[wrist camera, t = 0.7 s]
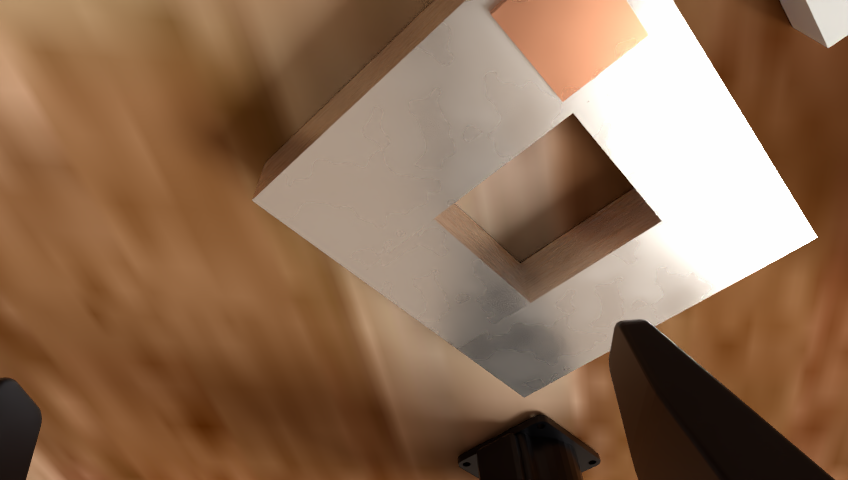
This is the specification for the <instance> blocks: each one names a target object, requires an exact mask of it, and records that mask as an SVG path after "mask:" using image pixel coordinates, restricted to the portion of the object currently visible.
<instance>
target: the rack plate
mask: <svg viewBox="0 0 848 480" xmlns="http://www.w3.org/2000/svg"><path fill="white" fill-rule="evenodd" d="M572 113H573V114H574V115H575V116H576V117H577V118H578V120H579V121H580V122H581V123H582V125H583V126H584V127H585V128H586V129H587V131H588V132H589V133H590V134H591V136H592V137H593V138H594V139H595V140H596V142H597V143H598V144H599V145H600V146H601V148H602V149H603V150H604V151H605V153H606V154H607V155H608V156H609V157H610V159H611V160H612V161H613V162H614V163H615V165H616V166H617V167H618V168H619V170H620V171H621V172H622V173H623V174H624V176H625V177H626V178H627V179H628V180H629V182H630V183H631V184H632V185H633V187H634V188H633V189H632V190H630V191H629V192H627V193H626V194H624V195H623V196H621V197H620V198H618V199H616V200H615V201H613V202H612V203H610V204H609V205H607V206H606V207H604V208H603V209H601V210H600V211H598V212H597V213H595V214H594V215H592V216H591V217H589V218H588V219H586V220H585V221H583V222H582V223H580V224H579V225H577V226H576V227H574V228H573V229H571V230H570V231H568V232H567V233H565V234H564V235H562V236H561V237H559V238H558V239H556V240H555V241H553V242H552V243H550V244H549V245H547V246H546V247H544V248H543V249H541V250H540V251H538V252H537V253H535V254H534V255H532V256H531V257H529V258H528V259H526V260H525V261H523V262H522V263H519V262H518V261H517V260H516V259H515V258H514V257H513V256H511V255H510V254H509V253H508V252H507V251H506V250H505V249H504V248H503V247H502V246H500V245H499V244H498V243H497V242H496V241H495V240H494V239H493V238H492V237H491V236H489V235H488V234H487V233H486V232H485V231H484V230H483V229H482V228H481V227H480V226H478V225H477V224H476V223H475V222H474V221H473V220H472V219H471V218H470V217H469V216H467V215H466V214H465V213H464V212H463V211H462V210H461V209H460V208H459V207H458V206H456V205H455V204H454V203H455V202H456V201H458V200H459V199H460V198H462V197H463V196H464V195H465V194H467V193H468V192H469V191H471V190H472V189H473V188H475V187H476V186H477V185H479V184H480V183H481V182H483V181H484V180H485V179H487V178H488V177H489V176H491V175H492V174H493V173H494V172H496V171H497V170H498V169H500V168H501V167H502V166H504V165H505V164H506V163H508V162H509V161H510V160H512V159H513V158H514V157H516V156H517V155H518V154H519V153H521V152H522V151H523V150H525V149H526V148H527V147H529V146H530V145H531V144H533V143H534V142H535V141H537V140H538V139H539V138H541V137H542V136H543V135H545V134H546V133H547V132H548V131H550V130H551V129H552V128H554V127H555V126H556V125H558V124H559V123H560V122H562V121H563V120H564V119H566V118H567V117H568V116H570V115H571V114H572ZM252 201H253V202H255V203H256V204H258V205H259V206H260V207H262V208H263V209H264V210H266V211H267V212H269V213H270V214H271V215H273V216H274V217H276V218H277V219H278V220H280V221H281V222H282V223H284V224H285V225H287V226H288V227H289V228H291V229H292V230H293V231H295V232H296V233H298V234H299V235H300V236H302V237H303V238H305V239H306V240H307V241H309V242H310V243H311V244H313V245H314V246H316V247H317V248H318V249H320V250H321V251H322V252H324V253H325V254H327V255H328V256H329V257H331V258H332V259H334V260H335V261H336V262H338V263H339V264H340V265H342V266H343V267H345V268H346V269H347V270H349V271H350V272H351V273H353V274H354V275H356V276H357V277H358V278H360V279H361V280H363V281H364V282H365V283H367V284H368V285H369V286H371V287H372V288H374V289H375V290H376V291H378V292H379V293H380V294H382V295H383V296H385V297H386V298H387V299H389V300H390V301H392V302H393V303H394V304H396V305H397V306H398V307H400V308H401V309H403V310H404V311H405V312H407V313H408V314H410V315H411V316H412V317H414V318H415V319H416V320H418V321H419V322H421V323H422V324H423V325H425V326H426V327H427V328H429V329H430V330H432V331H433V332H434V333H436V334H437V335H439V336H440V337H441V338H443V339H444V340H445V341H447V342H448V343H450V344H451V345H452V346H454V347H455V348H456V349H458V350H459V351H461V352H462V353H463V354H465V355H466V356H468V357H469V358H470V359H472V360H473V361H474V362H476V363H477V364H479V365H480V366H481V367H483V368H484V369H485V370H487V371H488V372H490V373H491V374H492V375H494V376H495V377H497V378H498V379H499V380H501V381H502V382H503V383H505V384H506V385H508V386H509V387H510V388H512V389H513V390H514V391H516V392H517V393H519V394H520V395H521V396H523V397H526V396H528V395H530V394H531V393H533V392H535V391H537V390H539V389H541V388H542V387H544V386H546V385H548V384H550V383H552V382H553V381H555V380H557V379H559V378H561V377H563V376H564V375H566V374H568V373H570V372H572V371H574V370H576V369H577V368H579V367H581V366H583V365H585V364H587V363H588V362H590V361H592V360H594V359H596V358H598V357H599V356H601V355H603V354H605V353H607V352H609V351H610V349H611V343H612V337H613V332H614V327H615V325H616V323H617V322H619V321H623V320H634V319H644V320H646V321H648V322H650V323H651V324H652V325H653V326H656V325H658V324H660V323H662V322H664V321H665V320H667V319H669V318H671V317H673V316H675V315H676V314H678V313H680V312H682V311H684V310H686V309H687V308H689V307H691V306H693V305H695V304H697V303H698V302H700V301H702V300H704V299H706V298H708V297H709V296H711V295H713V294H715V293H717V292H719V291H720V290H722V289H724V288H726V287H728V286H730V285H731V284H733V283H735V282H737V281H739V280H741V279H742V278H744V277H746V276H748V275H750V274H752V273H753V272H755V271H757V270H759V269H761V268H763V267H764V266H766V265H768V264H770V263H772V262H774V261H775V260H777V259H779V258H781V257H783V256H785V255H786V254H788V253H790V252H792V251H794V250H796V249H797V248H799V247H801V246H803V245H805V244H807V243H808V242H810V241H812V240H814V239H816V238H817V236H816V234H815V233H814V231H813V229H812V228H811V226H810V225H809V223H808V221H807V220H806V218H805V216H804V215H803V213H802V211H801V210H800V208H799V207H798V205H797V203H796V202H795V200H794V198H793V197H792V195H791V193H790V192H789V190H788V189H787V187H786V185H785V184H784V182H783V180H782V179H781V177H780V175H779V174H778V172H777V170H776V169H775V167H774V166H773V164H772V162H771V161H770V159H769V157H768V156H767V154H766V152H765V151H764V149H763V148H762V146H761V144H760V143H759V141H758V139H757V138H756V136H755V134H754V133H753V131H752V130H751V128H750V126H749V125H748V123H747V121H746V120H745V118H744V116H743V115H742V113H741V112H740V110H739V108H738V107H737V105H736V103H735V102H734V100H733V98H732V97H731V95H730V93H729V92H728V90H727V89H726V87H725V85H724V84H723V82H722V80H721V79H720V77H719V75H718V74H717V72H716V71H715V69H714V67H713V66H712V64H711V62H710V61H709V59H708V57H707V56H706V54H705V53H704V51H703V49H702V48H701V46H700V44H699V43H698V41H697V39H696V38H695V36H694V34H693V33H692V31H691V30H690V28H689V26H688V25H687V23H686V21H685V20H684V18H683V16H682V15H681V13H680V12H679V10H678V8H677V7H676V5H675V3H674V2H673V0H434V1H433V2H432V3H431V4H430V5H429V6H428V7H427V8H425V9H424V10H423V11H422V12H421V13H420V14H419V15H418V16H417V17H416V18H415V19H414V20H413V21H412V22H411V23H410V24H409V25H408V26H407V27H406V28H405V29H404V30H403V31H402V32H401V33H400V34H399V35H397V36H396V37H395V38H394V39H393V40H392V41H391V42H390V43H389V44H388V45H387V46H386V47H385V48H384V49H383V50H382V51H381V52H380V53H379V54H378V55H377V56H376V57H375V58H374V59H373V60H372V61H370V62H369V63H368V64H367V65H366V66H365V67H364V68H363V69H362V70H361V71H360V72H359V73H358V74H357V75H356V76H355V77H354V78H353V79H352V80H351V81H350V82H349V83H348V84H347V85H346V86H345V87H344V88H342V89H341V90H340V91H339V92H338V93H337V94H336V95H335V96H334V97H333V98H332V99H331V100H330V101H329V102H328V103H327V104H326V105H325V106H324V107H323V108H322V109H321V110H320V111H319V112H318V113H317V114H315V115H314V116H313V117H312V118H311V119H310V120H309V121H308V122H307V123H306V124H305V125H304V126H303V127H302V128H301V129H300V130H299V131H298V132H297V133H296V134H295V135H294V136H293V137H292V138H291V139H290V140H289V141H287V142H286V143H285V144H284V145H283V146H282V147H281V148H280V149H279V150H278V151H277V152H276V153H275V154H274V155H273V156H272V157H271V158H270V159H269V160H268V161H267V162H266V163H265V164H264V167H263V170H262V173H261V176H260V178H259V181H258V184H257V187H256V190H255V193H254V196H253V199H252Z"/></svg>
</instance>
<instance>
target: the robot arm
mask: <svg viewBox="0 0 848 480" xmlns="http://www.w3.org/2000/svg"><path fill="white" fill-rule="evenodd" d="M609 368H610V373H611V377H612V381H613V385H614V389H615V393H616V397H617V401H618V405H619V409H620V413H621V417H622V421H623V425H624V429H625V433H626V437H627V441H628V445H629V449H630V453H631V457H632V460H633V464H634V468H635V471H636V474H637V477H638V480H835V479H833V478H832V477H831V476H830V475H829V474H828V473H826V472H825V471H824V470H823V469H822V468H820V467H819V466H818V465H817V464H816V463H815V462H813V461H812V460H811V459H810V458H809V457H808V456H806V455H805V454H804V453H803V452H802V451H800V450H799V449H798V448H797V447H796V446H795V445H793V444H792V443H791V442H790V441H789V440H788V439H786V438H785V437H784V436H783V435H782V434H780V433H779V432H778V431H777V430H776V429H775V428H773V427H772V426H771V425H770V424H769V423H768V422H766V421H765V420H764V419H763V418H762V417H760V416H759V415H758V414H757V413H756V412H755V411H753V410H752V409H751V408H750V407H749V406H747V405H746V404H745V403H744V402H743V401H742V400H740V399H739V398H738V397H737V396H736V395H735V394H733V393H732V392H731V391H730V390H729V389H727V388H726V387H725V386H724V385H723V384H722V383H720V382H719V381H718V380H717V379H716V378H715V377H713V376H712V375H711V374H710V373H709V372H707V371H706V370H705V369H704V368H703V367H702V366H700V365H699V364H698V363H697V362H696V361H695V360H693V359H692V358H691V357H690V356H689V355H687V354H686V353H685V352H684V351H683V350H682V349H680V348H679V347H678V346H677V345H676V344H675V343H673V342H672V341H671V340H670V339H669V338H667V337H666V336H665V335H664V334H663V333H662V332H660V331H659V330H658V329H657V328H656V327H654V326H653V325H652V324H651V323H650V322H648V321H646V320H644V319H634V320H623V321H619V322H617V323H616V325H615V327H614V332H613V337H612V343H611V349H610V355H609ZM41 423H42V416H41V411H40V409H39V407H38V406H37V405H36V404H35V403H34V401H33V400H32V399H31V398H30V397H29V396H28V394H27V393H26V392H25V391H24V390H23V388H22V387H21V386H20V385H19V384H18V383H17V382H16V381H15V380H14V379H11V378H0V480H26V477H27V474H28V470H29V467H30V463H31V459H32V456H33V452H34V449H35V445H36V442H37V438H38V434H39V431H40V427H41ZM599 463H600V457H599V454H598V453H596V452H595V451H594V450H592V449H591V448H590V447H588V446H587V445H585V444H584V443H583V442H581V441H580V440H578V439H577V438H576V437H574V436H573V435H571V434H570V433H569V432H567V431H566V430H565V429H563V428H562V427H560V426H559V425H558V424H556V423H555V422H553V421H552V420H551V419H549V418H548V417H546V416H544V415H538V416H535V417H533V418H531V419H529V420H527V421H525V422H523V423H521V424H519V425H518V426H516V427H514V428H512V429H510V430H508V431H506V432H504V433H502V434H500V435H498V436H497V437H495V438H493V439H491V440H489V441H487V442H485V443H483V444H481V445H479V446H477V447H476V448H474V449H472V450H470V451H468V452H466V453H464V454H462V455H460V456H459V457H458V464H459V467H460V468H462V469H464V470H465V471H467V472H469V473H471V474H472V475H474V476H476V477H478V478H479V480H583V477H582V473H581V472H584V471H586V470H588V469H590V468H592V467H595V466H597V465H598V464H599Z"/></svg>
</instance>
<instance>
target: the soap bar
mask: <svg viewBox="0 0 848 480" xmlns="http://www.w3.org/2000/svg"><path fill="white" fill-rule="evenodd" d="M780 2H781V4H782V6H783V8H784V10H785V12H786V14H787V16H788V19H789V21H790V23H791V25H792V27H793V28H795V29H796V30H798V31H800V32H802V33H803V34H805V35H807V36H808V37H810V38H812V39H813V40H815V41H817V42H818V43H820V44H822V45H823V46H825V47H827V48H829V47H831V46H832V45H834V44H835V43H837V42H838V41H840V40H841V39H843V38H844V37H846V36H847V35H848V0H780Z"/></svg>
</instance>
